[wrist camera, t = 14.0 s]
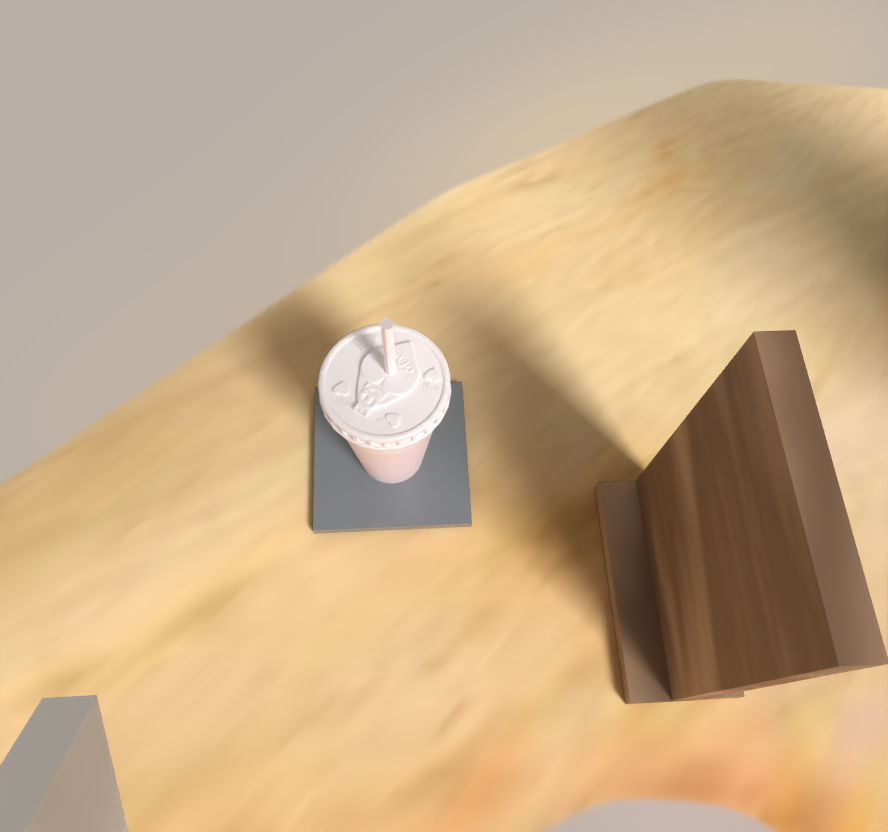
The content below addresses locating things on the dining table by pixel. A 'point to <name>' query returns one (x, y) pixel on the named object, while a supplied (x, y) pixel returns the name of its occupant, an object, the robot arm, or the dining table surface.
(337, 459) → the coaster
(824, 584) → the screen
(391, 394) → the smoothie
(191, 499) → the dining table surface
